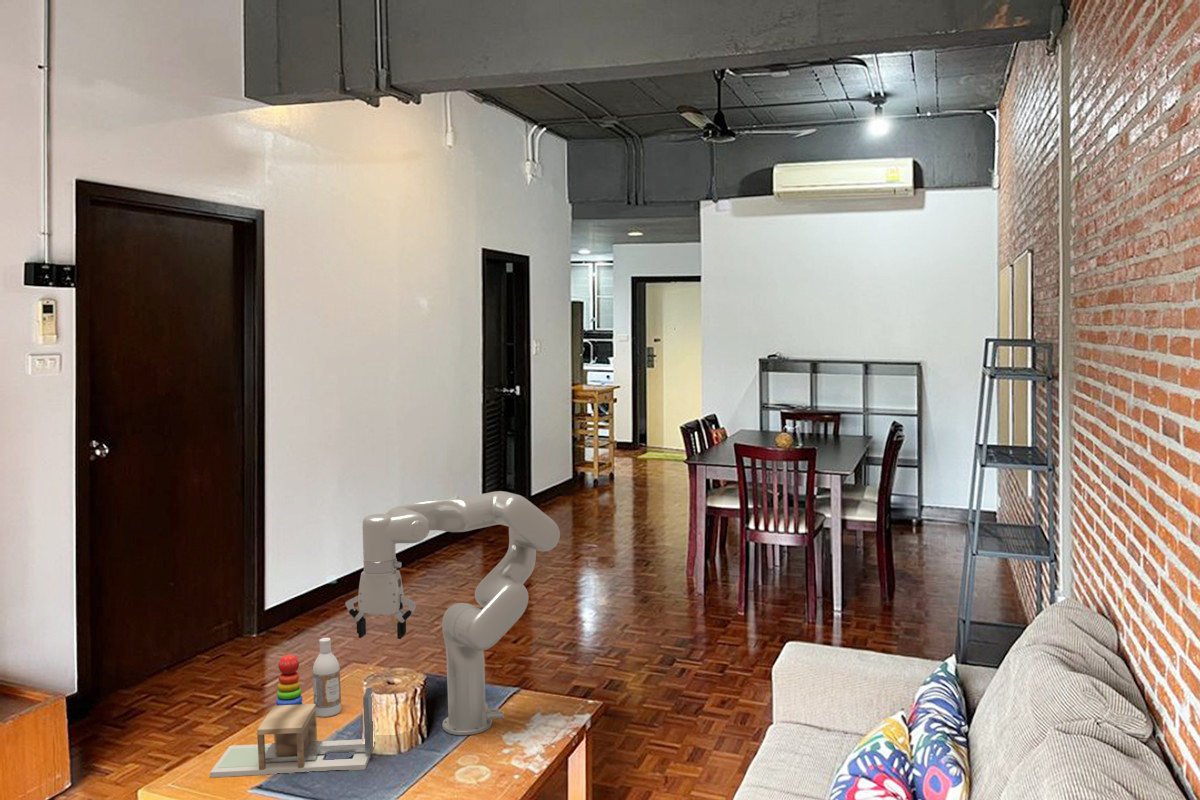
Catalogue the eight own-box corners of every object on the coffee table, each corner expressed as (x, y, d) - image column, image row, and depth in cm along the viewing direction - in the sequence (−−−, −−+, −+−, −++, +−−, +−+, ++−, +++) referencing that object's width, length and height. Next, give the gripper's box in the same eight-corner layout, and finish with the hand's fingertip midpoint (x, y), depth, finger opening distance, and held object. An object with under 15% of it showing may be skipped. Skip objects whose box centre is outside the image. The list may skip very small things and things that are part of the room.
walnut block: (309, 743, 226) (307, 719, 226) (302, 754, 220) (301, 729, 220) (283, 744, 226) (282, 720, 225) (276, 755, 220) (275, 730, 219)
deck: (375, 743, 231) (375, 738, 231) (365, 769, 217) (364, 764, 217) (229, 750, 229) (229, 745, 229) (210, 777, 215) (209, 772, 215)
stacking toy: (287, 735, 237) (284, 662, 236) (266, 728, 241) (263, 657, 240) (312, 723, 244) (309, 653, 243) (291, 717, 248) (288, 648, 247)
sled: (375, 742, 228) (373, 686, 227) (369, 757, 220) (367, 698, 219) (272, 747, 227) (269, 690, 226) (262, 762, 219) (259, 703, 218)
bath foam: (322, 719, 246) (319, 645, 245) (309, 712, 251) (306, 639, 250) (346, 712, 251) (343, 639, 250) (333, 705, 256) (330, 633, 255)
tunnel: (317, 741, 230) (315, 703, 230) (303, 767, 216) (301, 727, 216) (275, 743, 230) (274, 705, 229) (259, 769, 216) (257, 729, 215)
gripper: (419, 563, 227) (421, 632, 228) (351, 562, 229) (352, 631, 230) (409, 571, 219) (411, 642, 220) (338, 569, 221) (340, 640, 222)
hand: (381, 636), depth 225 cm, fingers open, 9 cm apart
